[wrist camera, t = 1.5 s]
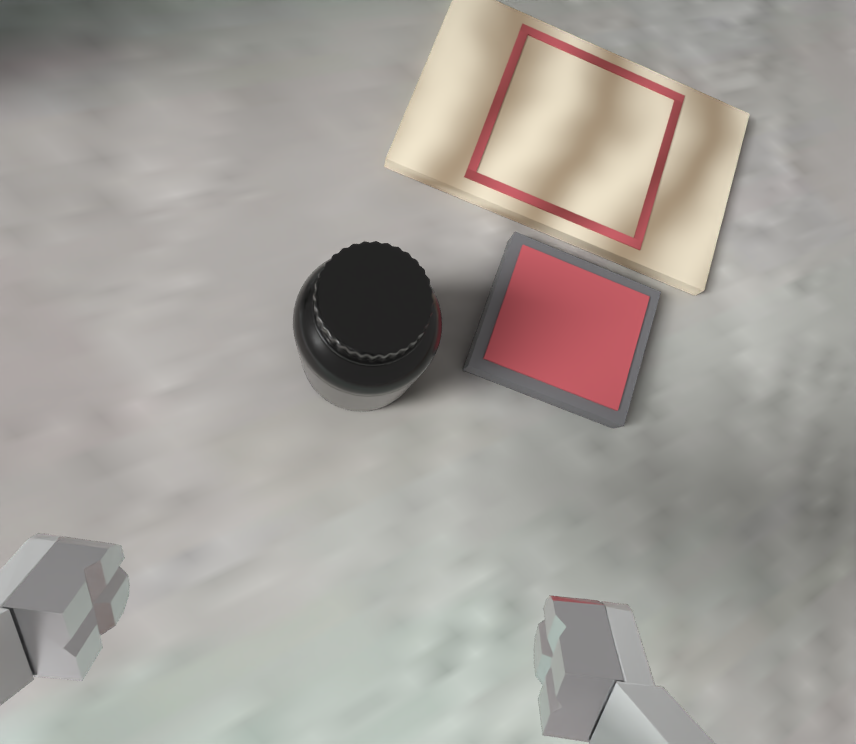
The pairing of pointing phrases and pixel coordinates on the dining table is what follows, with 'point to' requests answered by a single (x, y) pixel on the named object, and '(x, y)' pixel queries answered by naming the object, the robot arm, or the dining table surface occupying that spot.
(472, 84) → the marked board
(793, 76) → the dining table surface
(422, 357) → the supplement bottle
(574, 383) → the ink pad
